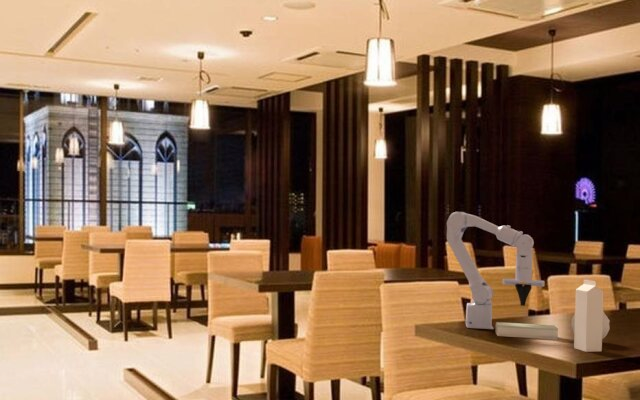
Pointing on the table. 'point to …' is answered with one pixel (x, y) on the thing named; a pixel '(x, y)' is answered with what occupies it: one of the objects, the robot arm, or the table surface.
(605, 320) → the decorative ball
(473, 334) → the table surface
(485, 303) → the robot arm
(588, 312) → the milk
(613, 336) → the table surface
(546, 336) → the cable duct
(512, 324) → the duct lid
